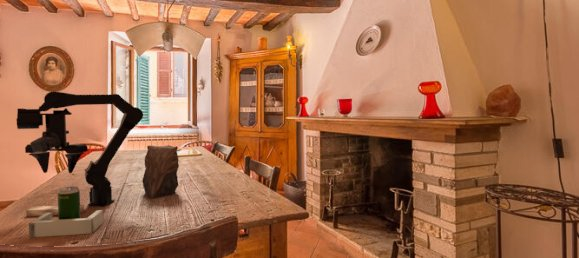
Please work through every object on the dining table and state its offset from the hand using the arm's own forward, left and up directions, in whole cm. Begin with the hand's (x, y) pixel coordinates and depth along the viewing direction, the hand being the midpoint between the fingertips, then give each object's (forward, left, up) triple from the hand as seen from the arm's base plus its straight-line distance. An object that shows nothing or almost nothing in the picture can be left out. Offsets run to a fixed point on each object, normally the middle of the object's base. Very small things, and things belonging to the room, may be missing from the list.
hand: (57, 172), depth 114 cm
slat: (-2, +4, -13) cm, 14 cm away
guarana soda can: (-17, +17, -13) cm, 27 cm away
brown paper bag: (-25, -22, -13) cm, 36 cm away
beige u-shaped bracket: (-17, +17, -13) cm, 27 cm away
